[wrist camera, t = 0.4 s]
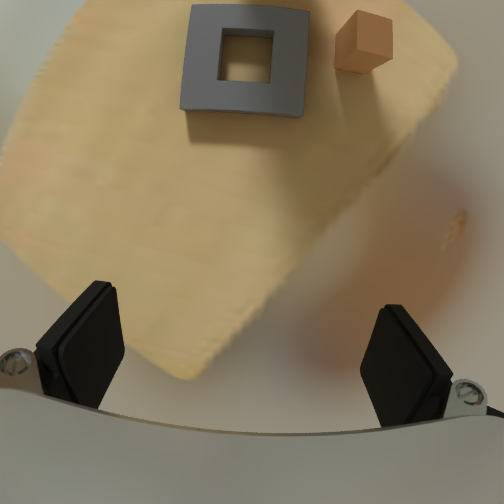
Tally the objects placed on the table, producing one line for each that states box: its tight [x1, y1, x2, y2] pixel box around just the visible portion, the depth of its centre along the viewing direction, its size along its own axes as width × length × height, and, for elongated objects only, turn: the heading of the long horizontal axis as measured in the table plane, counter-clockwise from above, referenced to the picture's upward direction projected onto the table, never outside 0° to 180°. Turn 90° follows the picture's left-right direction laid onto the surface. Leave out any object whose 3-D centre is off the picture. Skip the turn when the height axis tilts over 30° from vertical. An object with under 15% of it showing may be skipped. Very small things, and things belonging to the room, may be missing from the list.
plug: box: [334, 10, 393, 74], centre depth 27 cm, size 5×4×9 cm
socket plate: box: [180, 4, 310, 118], centre depth 31 cm, size 14×14×3 cm
